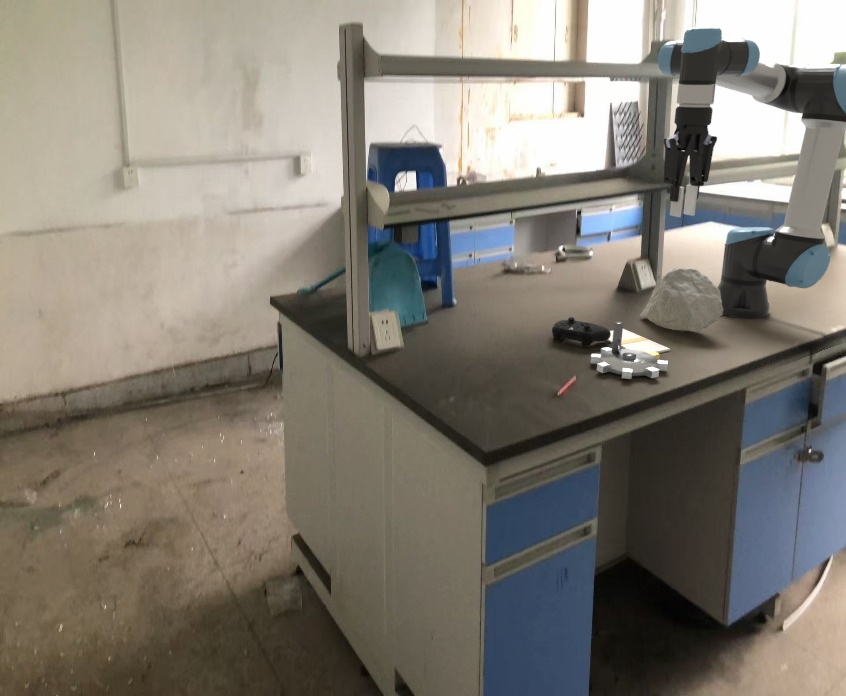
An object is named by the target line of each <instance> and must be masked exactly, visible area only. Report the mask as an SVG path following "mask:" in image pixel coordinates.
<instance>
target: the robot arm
mask: <svg viewBox="0 0 846 696" xmlns="http://www.w3.org/2000/svg"><path fill="white" fill-rule="evenodd" d="M722 32H723V31H722V29H721V28H719V27H691V28H687V29H686V30H685V32H684V34H683V40H681V39H678V40H671V41H667V42H665V43H664V44H663V46H661V48H660V50H659V52H658V57H657V66H658V68H659V70H660V71H661V73H662V74H664V75H666V76H672V77H676V76H679V77H678V85H677V94H676V95H677V96H676V104H678V106H677V107H675V114H674V122H673V123H674V124H675V125H676V127H675V130H674V133H673V135H671V136H670V137H664V138H663V145H664V163H663V164H664V167H663V183H664V184H667V186H668V187H669V186H670V191H669V201H670V209H669V216H672V217H675V218H682V213H683V215H686V216H690V217H694V216H695V215H696V207H697V201H698V199H699V197H700V196H699V194H700V187H703V186H704V185H705V183H707V182H708V181H709V176H710V170H711V164H712V159H713V155H714V148H715V145H716V143H717V141H718V137H717V136H716V135H715V136H714V135H713V136H712V135H711V134H709V128H708V126H710V125H711V124H712V120H713V119H712V118H713V108H712V107H711V105H714V104H715V93H716V86H718V87H721V88H725V89H729V90H733V91H735V92H739V93H742V94H746V95H750V96H752V98H753V99H754V100H755V101H756V102H759V103H761V104H765V105H768V106H770V107H773V108H777V109H780V110H783V111H786V112H789V113H790V112H791V113H795V114H796V113H797V114H802V115H801V119H800V121H801V122H802V123H803V125H804V126H805V130H804V131H805V132H804V135H803V140H802V143H801V149H800V152H799V158H798V161H797V165H796V169H795V174H794V179H793V182H792V187H791V191H790V194H789V200H788V204H787V208H786V213H785V217H784V220H783V221H784V222H783V224H782V225H781V226H779V227H778V228H777V229H774V228H772V227H766V226H761V227H760V226H754V227H753V226H750V227H738V228H732V229H731V230H729V231H728V232H727V234H726V240H725V243H724V249H723V250H724V252H723V261H722V267H721V276H720V282H719V284H718V286H717V288H718V289H719V290H720V295H721V301H722V307H723V314H722V316H727V317H733V318H738V319H759V318H765V317H767V316H768V315H769V313H770V307H771V306H770V305H771V304H770V303H769V298H768V292H767V281H768V282H772V283H777V284H781V285H784V286H787V287H790V288H798V289H808V288H811V287H812V286H815V285H816V284H817V283H818V282H819V281H821V279H822V278H823V277H824V276H825V274H826V272H827V270H828V268H829V266H830V262H831V251H830V248H829V247H828V246H827V245H825V239H826V236H825V234H824V233H823V232H822V230H821V227H822V223H823V220H824V214H825V211H826V207H827V203H828V199H829V195H830V191H831V187H832V184H833V183H832V182H833V178H834V175H835V170H836V167H837V162H838V158H839V155H840V150H841V146H842V142H843V138H844V135H845V132H846V63H832V64H831V63H830V64H828V63H827V64H826V63H825V64H823V63H821V64H819V63H818V64H810V63H808V64H807V63H806V64H804V63H803V64H780V63H777V62H770V63H769V62H768V63H766V64H765V63H762V62H760V58H761V57H760V56H761V55H760V54H761V53H760V52H761V51H760V48H759V46H758V44H757V43H756V42H755V41H754V40H750V39H745V38H723V37H722V34H723V33H722ZM688 158H689V184H686V187H684V186H682V184H683V181H684V176H685V172H686V167H687V163H688ZM684 192H685V195H684ZM684 197H685V198H684ZM683 200H684V201H683ZM683 202H684V203H683ZM682 209H683V211H682Z"/></svg>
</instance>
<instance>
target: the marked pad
mask: <svg viewBox="0 0 846 696" xmlns="http://www.w3.org/2000/svg"><path fill="white" fill-rule="evenodd" d="M609 331H610V333H611V336H610V338H609V339H608V340H606V342H608V343H610V344H612V341H613V330H609ZM626 346H627V347H635V350H639V351H643V352H646V353H648V352H653V351H654V352H656V353H659V354H660V353H665V352H671V348H670V347H667V346H666V345H665V346H664V345H662V344H660V343H657V342H656V341H654V340H653V341H652V340H650V339H648V338H647V337H643V336H641V335H639V334H637V333H634V332H633V331H629V330H628V329H625V328H623V331H622V342H621V349H626Z"/></svg>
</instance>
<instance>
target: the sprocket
mask: <svg viewBox="0 0 846 696" xmlns="http://www.w3.org/2000/svg"><path fill="white" fill-rule="evenodd" d="M623 329H624V322H623V321H614V322H613V329H612V331H613V341H612V343H611V347H609V346H607V347H602V348H600V353H591V355H590V364H596V371H598V372H600V373H602V374H606V373H612V374H616V375H621V379H627V380H632V377H641V376H642V377H643V376H646V377H648V378H650V379H654V378H657V377H659V376H660V375H659V374H660V371H663V372H664V371H666V372H667V371H668V360H663V359H662V360H661V359H660V356H661V354H660V353H656V352H654V351H653V352H648V353H646V352H643V351H639V350H635V347H627V346H626V349H623V348H621V342H622V331H623Z"/></svg>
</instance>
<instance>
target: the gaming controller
mask: <svg viewBox="0 0 846 696" xmlns="http://www.w3.org/2000/svg"><path fill="white" fill-rule="evenodd" d="M610 331H611V330H610V329H608V328H607V327H606V326H602V325H599V324H595V323H591V322H584V321H581V320H575V318H574V317H568V318H567V319H562V320H558V321H556V322H555V323H554V325H553V326H552V329H551V332H552V336H553V338H552V339H553V341H554V342H560V341H561V340H562V339H565V340H571V341H577V342H581V346H582V347H589V346H591V345H592V344H593V343H594V342H605V341H606V340H608V339H609V338H610V336H611V333H610ZM606 342H607V341H606Z"/></svg>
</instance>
